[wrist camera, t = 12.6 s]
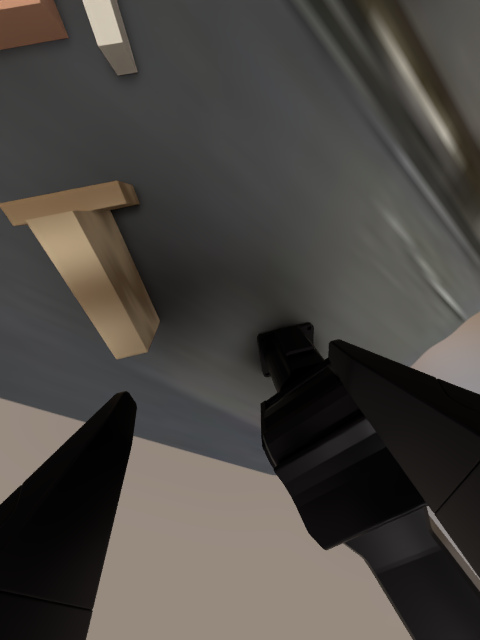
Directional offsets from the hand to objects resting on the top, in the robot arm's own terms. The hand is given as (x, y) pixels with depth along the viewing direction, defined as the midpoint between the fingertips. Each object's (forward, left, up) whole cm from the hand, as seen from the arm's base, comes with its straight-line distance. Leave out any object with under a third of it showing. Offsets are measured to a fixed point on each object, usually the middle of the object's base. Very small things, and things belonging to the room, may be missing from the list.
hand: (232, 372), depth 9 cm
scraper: (+2, +8, -12) cm, 15 cm away
